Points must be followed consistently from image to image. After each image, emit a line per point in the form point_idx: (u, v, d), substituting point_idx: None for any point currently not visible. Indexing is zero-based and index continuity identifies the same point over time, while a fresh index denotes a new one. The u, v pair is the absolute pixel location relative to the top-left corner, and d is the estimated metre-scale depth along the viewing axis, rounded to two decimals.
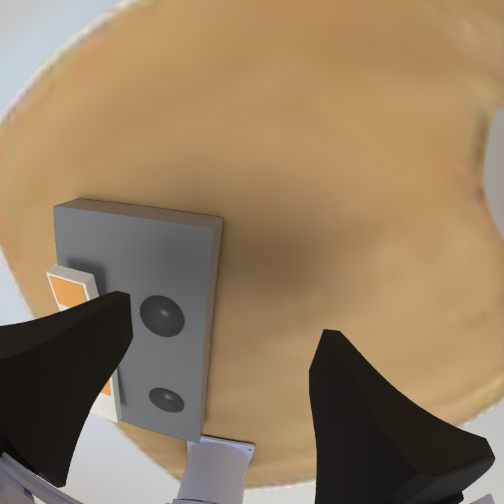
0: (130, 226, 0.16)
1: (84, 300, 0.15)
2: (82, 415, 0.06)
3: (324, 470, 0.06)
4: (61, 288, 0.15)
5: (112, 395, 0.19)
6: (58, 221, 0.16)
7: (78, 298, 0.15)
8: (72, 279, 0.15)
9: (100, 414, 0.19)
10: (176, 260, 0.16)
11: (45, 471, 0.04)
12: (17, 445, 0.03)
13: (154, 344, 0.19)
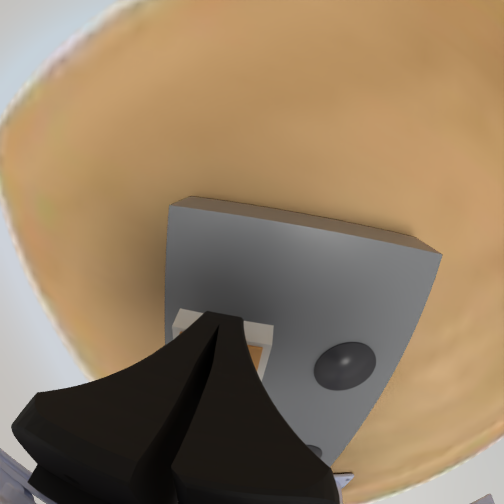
0: (336, 247, 0.11)
1: None
2: None
3: None
4: None
5: None
6: (178, 232, 0.11)
7: None
8: None
9: None
10: (392, 294, 0.11)
11: None
12: None
13: (318, 400, 0.13)
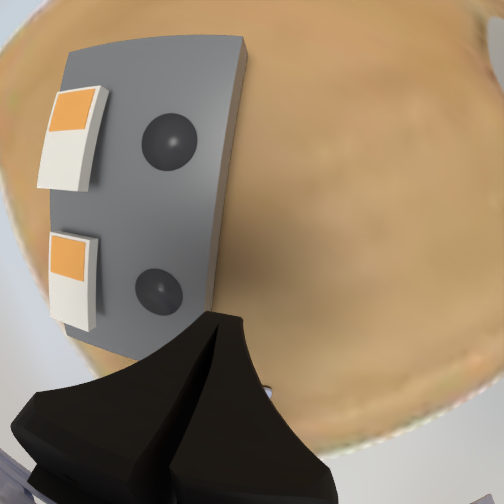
0: (151, 45, 0.12)
1: (87, 107, 0.11)
2: None
3: None
4: (65, 103, 0.11)
5: (85, 281, 0.15)
6: (70, 64, 0.12)
7: (80, 108, 0.12)
8: (86, 87, 0.11)
9: (67, 320, 0.15)
10: (198, 69, 0.12)
11: None
12: None
13: (153, 188, 0.15)
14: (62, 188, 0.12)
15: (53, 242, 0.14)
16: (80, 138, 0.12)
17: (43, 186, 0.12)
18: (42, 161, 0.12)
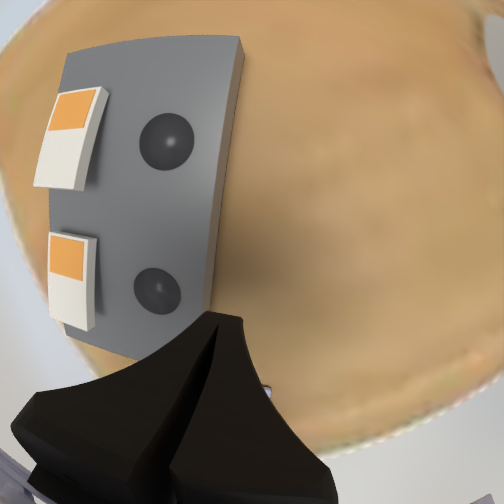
0: (148, 46, 0.12)
1: (87, 107, 0.12)
2: None
3: None
4: (66, 104, 0.12)
5: (84, 281, 0.15)
6: (68, 66, 0.12)
7: (80, 108, 0.12)
8: (87, 89, 0.12)
9: (66, 320, 0.15)
10: (194, 69, 0.12)
11: None
12: None
13: (150, 187, 0.15)
14: (58, 186, 0.12)
15: (52, 242, 0.15)
16: (79, 137, 0.12)
17: (39, 184, 0.12)
18: (40, 160, 0.12)
